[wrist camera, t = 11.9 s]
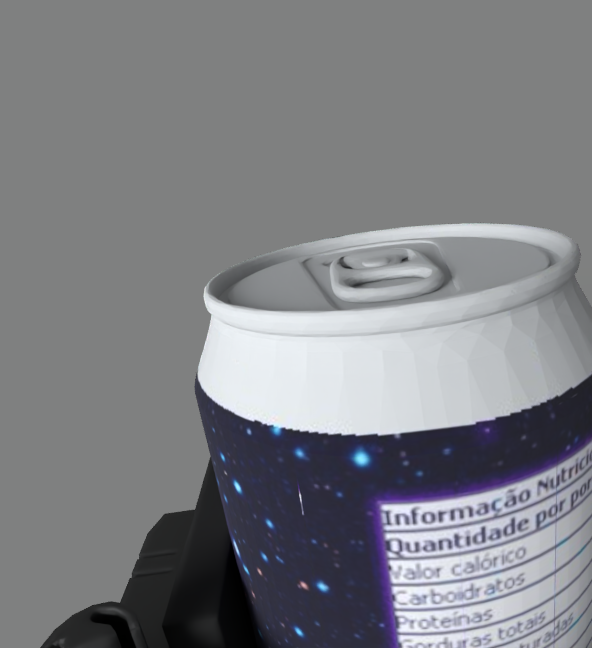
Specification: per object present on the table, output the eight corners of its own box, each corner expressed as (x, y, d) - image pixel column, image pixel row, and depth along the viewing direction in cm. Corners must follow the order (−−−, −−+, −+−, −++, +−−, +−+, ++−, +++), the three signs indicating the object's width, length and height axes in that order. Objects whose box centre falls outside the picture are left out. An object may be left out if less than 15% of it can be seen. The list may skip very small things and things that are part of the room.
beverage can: (515, 661, 13) (508, 206, 9) (659, 1019, 7) (782, 270, 4) (306, 676, 13) (217, 250, 10) (300, 1022, 8) (94, 362, 4)
